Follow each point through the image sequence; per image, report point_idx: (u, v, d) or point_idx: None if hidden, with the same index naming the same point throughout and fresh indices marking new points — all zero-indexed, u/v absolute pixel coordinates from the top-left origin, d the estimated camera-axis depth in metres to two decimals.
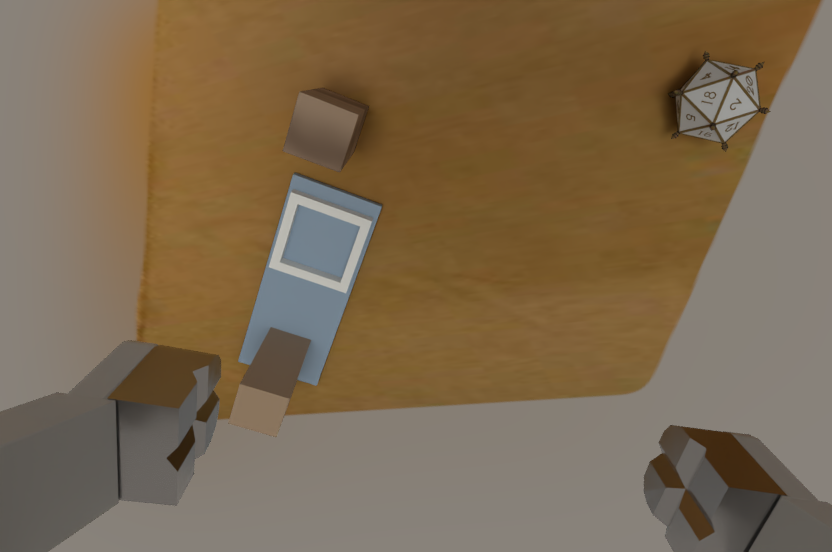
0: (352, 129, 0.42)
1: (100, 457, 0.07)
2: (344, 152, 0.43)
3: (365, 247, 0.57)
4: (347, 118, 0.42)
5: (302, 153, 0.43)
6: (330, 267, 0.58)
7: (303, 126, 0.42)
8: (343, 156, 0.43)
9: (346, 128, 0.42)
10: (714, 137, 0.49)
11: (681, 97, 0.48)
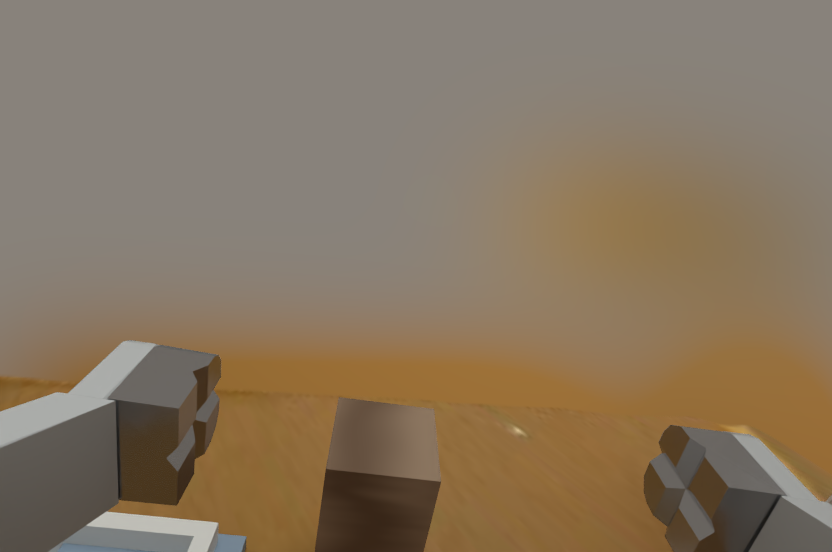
0: (412, 476, 0.22)
1: (100, 457, 0.07)
2: (366, 470, 0.22)
3: None
4: (426, 467, 0.23)
5: (342, 418, 0.25)
6: None
7: (386, 416, 0.26)
8: (358, 470, 0.22)
9: (410, 468, 0.23)
10: None
11: None
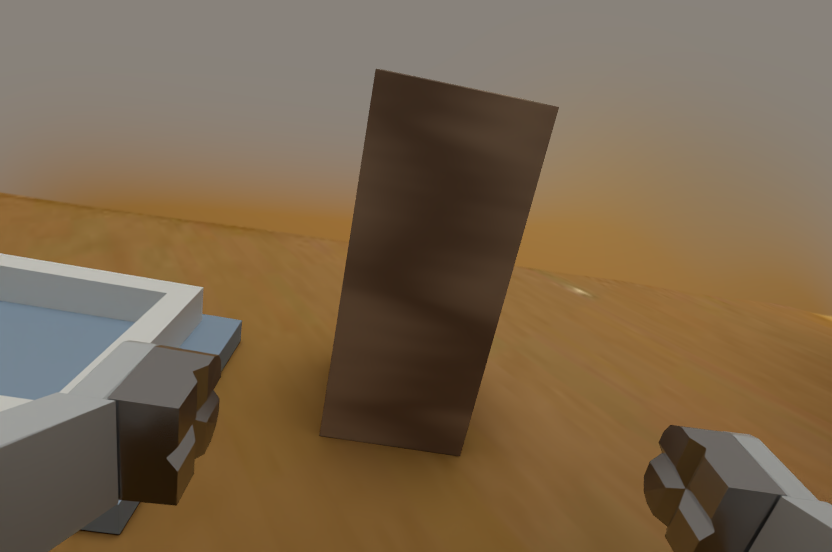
0: (512, 97, 0.14)
1: (100, 457, 0.07)
2: (439, 82, 0.14)
3: None
4: None
5: None
6: None
7: None
8: (427, 80, 0.14)
9: None
10: None
11: None
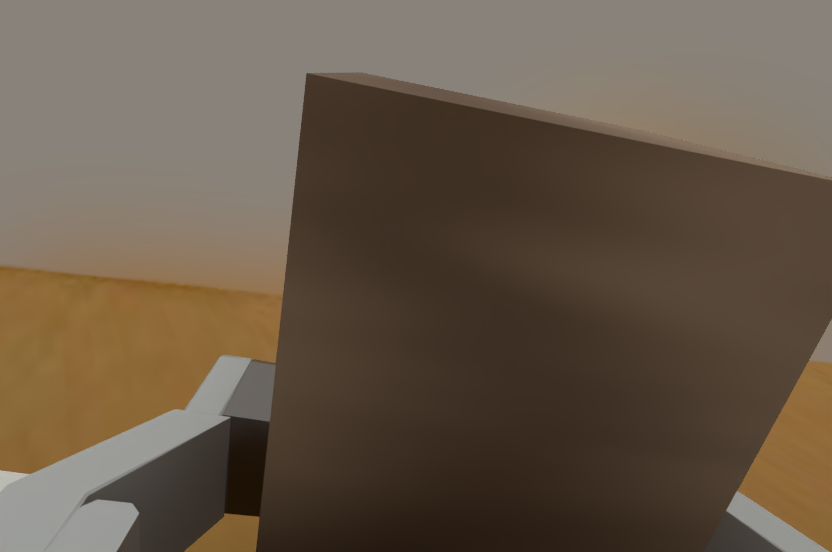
0: (752, 164, 0.04)
1: (214, 472, 0.07)
2: (521, 116, 0.04)
3: None
4: (774, 166, 0.05)
5: (377, 78, 0.07)
6: None
7: (518, 106, 0.08)
8: (480, 109, 0.04)
9: (714, 153, 0.05)
10: None
11: None
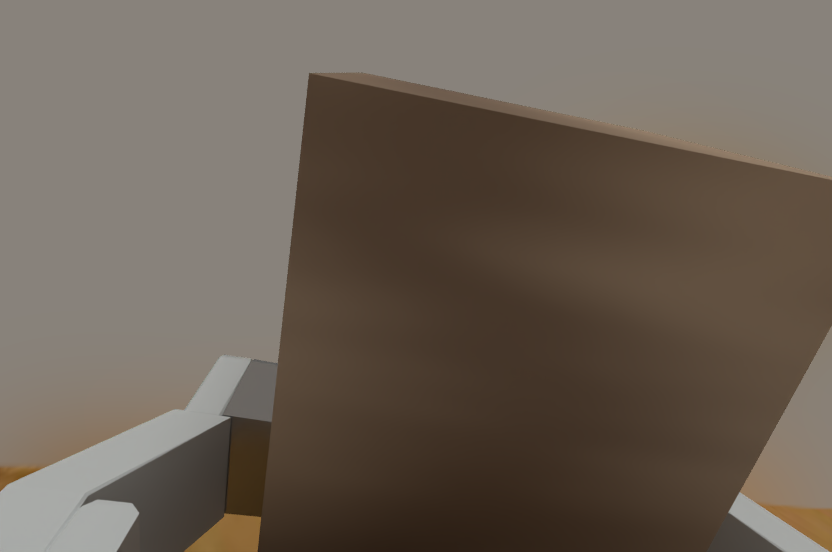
0: (755, 165, 0.04)
1: (214, 472, 0.07)
2: (524, 116, 0.04)
3: None
4: (777, 166, 0.05)
5: (378, 77, 0.07)
6: None
7: (519, 106, 0.08)
8: (483, 109, 0.04)
9: (717, 154, 0.05)
10: None
11: None
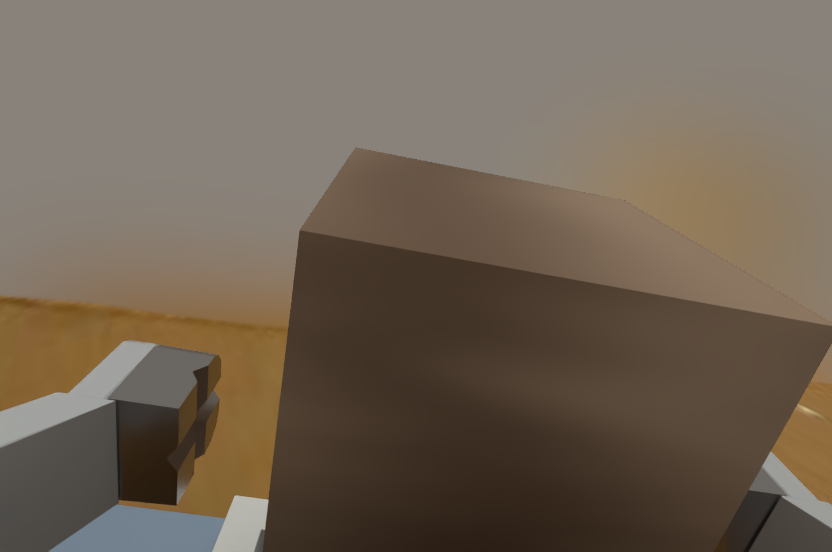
0: (706, 300, 0.05)
1: (100, 457, 0.07)
2: (495, 260, 0.05)
3: None
4: (732, 285, 0.05)
5: (369, 167, 0.07)
6: None
7: (503, 186, 0.08)
8: (458, 255, 0.05)
9: (674, 279, 0.05)
10: None
11: None
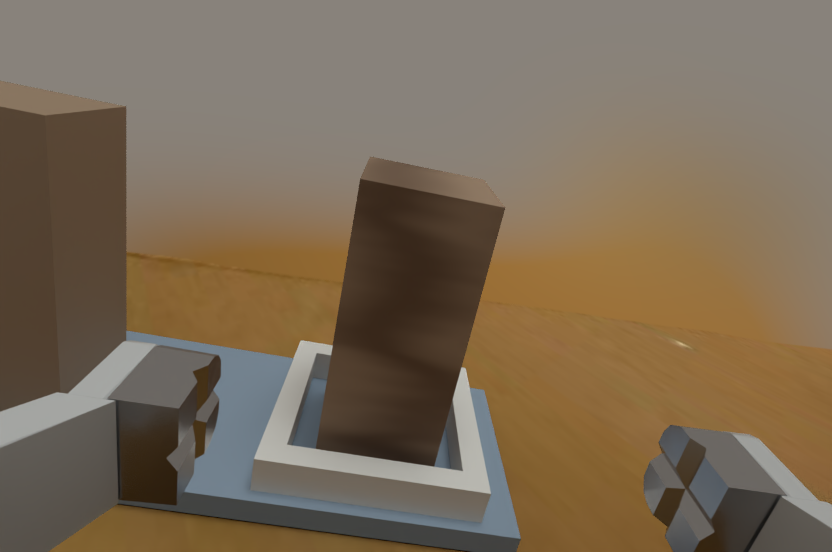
0: (468, 200, 0.17)
1: (100, 457, 0.07)
2: (411, 187, 0.17)
3: (392, 517, 0.19)
4: (485, 199, 0.18)
5: (376, 164, 0.20)
6: None
7: (428, 172, 0.21)
8: (401, 186, 0.17)
9: (465, 196, 0.18)
10: None
11: None
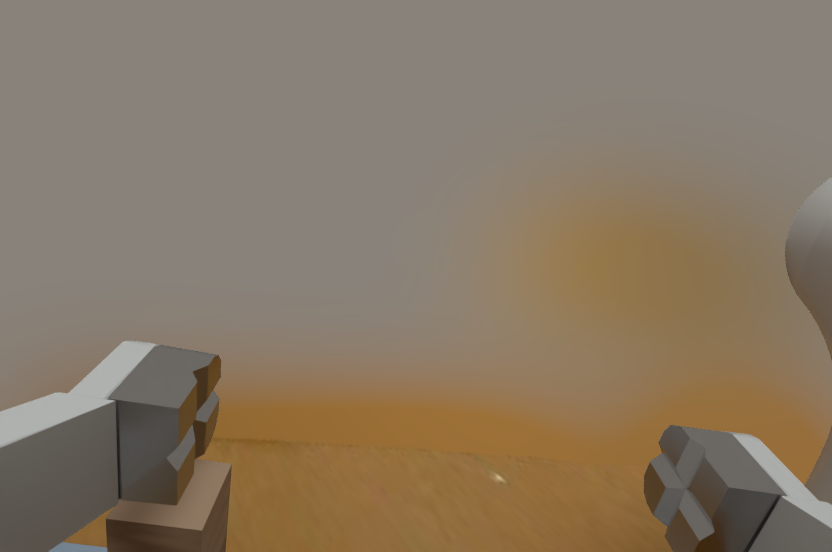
0: (178, 526, 0.27)
1: (100, 457, 0.07)
2: (140, 520, 0.27)
3: None
4: (196, 517, 0.28)
5: None
6: None
7: None
8: (133, 520, 0.27)
9: (180, 518, 0.28)
10: None
11: None
